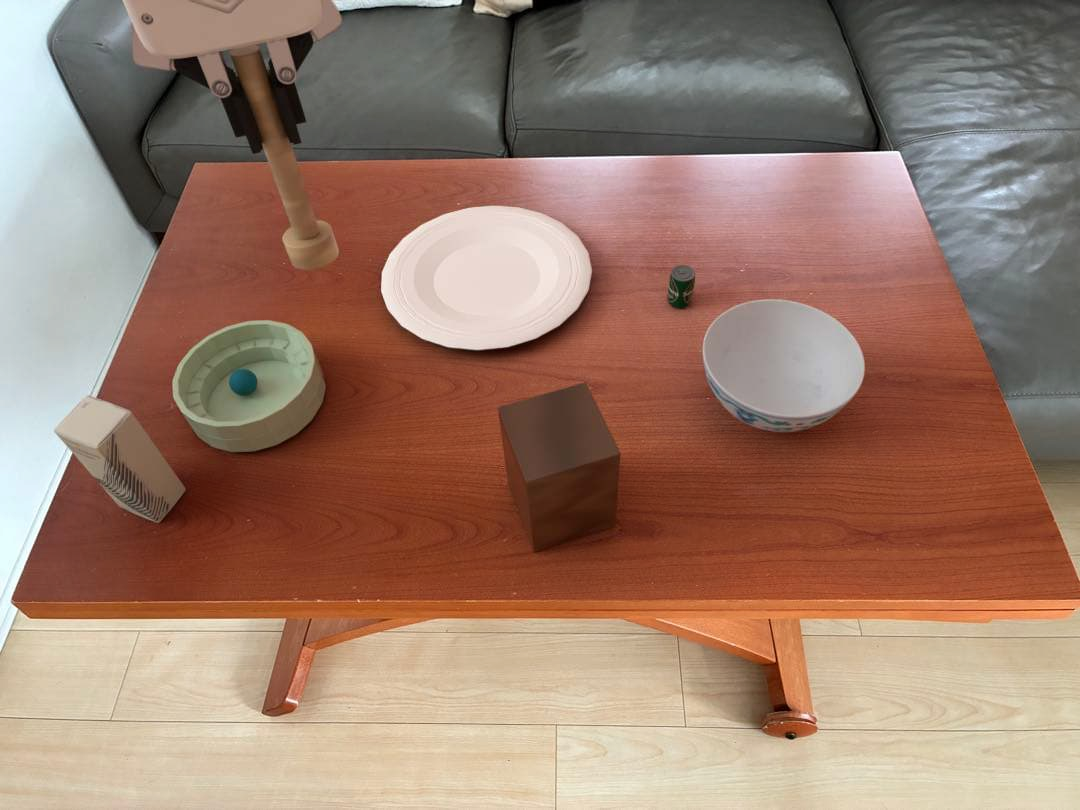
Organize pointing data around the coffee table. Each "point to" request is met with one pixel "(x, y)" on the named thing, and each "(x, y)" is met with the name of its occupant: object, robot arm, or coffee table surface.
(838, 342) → the chinaware
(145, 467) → the box
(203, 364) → the bowl
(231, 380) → the ball
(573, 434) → the stand
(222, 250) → the coffee table surface
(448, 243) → the plate
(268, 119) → the stick
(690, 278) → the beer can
